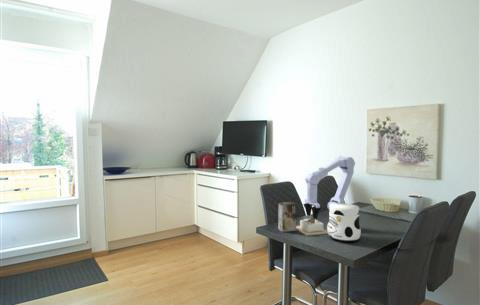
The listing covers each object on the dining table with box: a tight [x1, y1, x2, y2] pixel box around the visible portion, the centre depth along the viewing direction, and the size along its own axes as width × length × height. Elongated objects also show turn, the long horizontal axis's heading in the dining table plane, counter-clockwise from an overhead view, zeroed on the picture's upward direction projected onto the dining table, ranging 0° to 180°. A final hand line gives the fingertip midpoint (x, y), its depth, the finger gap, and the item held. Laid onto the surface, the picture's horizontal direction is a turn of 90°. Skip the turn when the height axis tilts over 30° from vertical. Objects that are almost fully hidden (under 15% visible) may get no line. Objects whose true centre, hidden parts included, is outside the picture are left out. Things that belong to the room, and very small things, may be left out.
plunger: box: [307, 216, 316, 224], centre depth 183 cm, size 7×7×6 cm
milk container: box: [326, 202, 362, 242], centre depth 168 cm, size 17×17×18 cm
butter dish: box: [296, 218, 328, 236], centre depth 183 cm, size 16×17×5 cm
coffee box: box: [277, 201, 297, 233], centre depth 183 cm, size 9×6×16 cm
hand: (311, 217), depth 183 cm, fingers open, 7 cm apart
